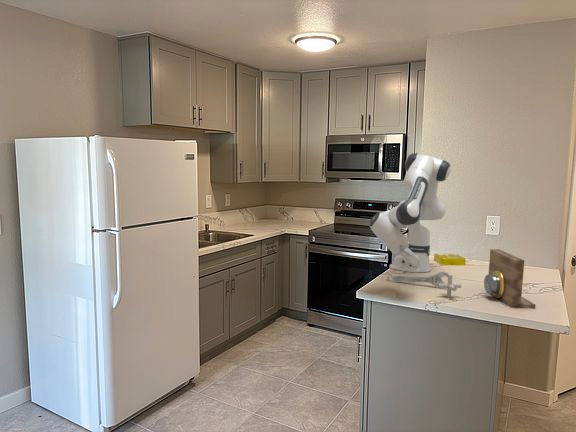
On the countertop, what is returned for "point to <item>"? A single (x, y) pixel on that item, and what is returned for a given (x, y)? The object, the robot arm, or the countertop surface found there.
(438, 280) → the wrench
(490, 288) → the door knob
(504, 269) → the board
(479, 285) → the countertop surface
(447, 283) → the pipe connector
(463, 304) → the countertop surface
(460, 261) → the element tile
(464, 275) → the countertop surface
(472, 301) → the countertop surface
